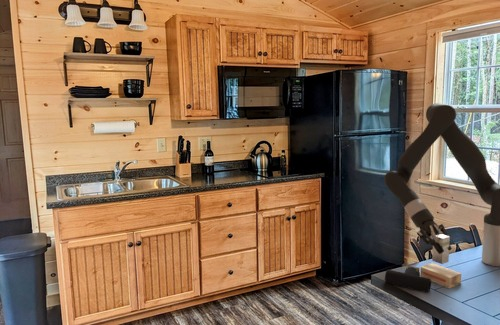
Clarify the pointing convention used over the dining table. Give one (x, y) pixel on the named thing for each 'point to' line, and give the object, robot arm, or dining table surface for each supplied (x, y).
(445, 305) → the dining table surface
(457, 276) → the block
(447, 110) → the robot arm
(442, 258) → the jack column
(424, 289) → the pipe connector
